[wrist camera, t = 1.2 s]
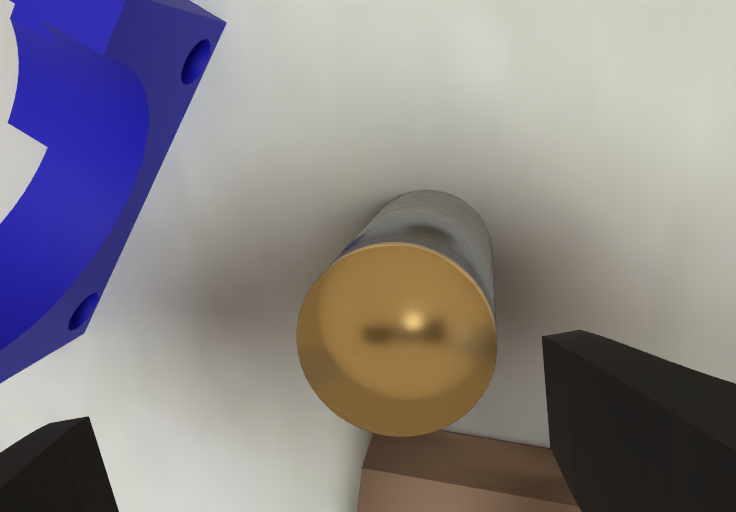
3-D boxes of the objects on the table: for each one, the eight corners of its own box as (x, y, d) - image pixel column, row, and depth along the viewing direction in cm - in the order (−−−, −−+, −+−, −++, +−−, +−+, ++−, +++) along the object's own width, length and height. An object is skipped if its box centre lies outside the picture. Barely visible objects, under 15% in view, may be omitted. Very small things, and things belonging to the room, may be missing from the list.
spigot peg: (500, 197, 20) (510, 260, 12) (482, 321, 21) (482, 451, 13) (370, 183, 20) (303, 233, 13) (359, 304, 21) (290, 419, 14)
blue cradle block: (104, -50, 20) (-44, -108, 15) (228, 23, 20) (128, -7, 14) (-19, 267, 24) (-178, 322, 18) (86, 331, 24) (-41, 407, 18)
